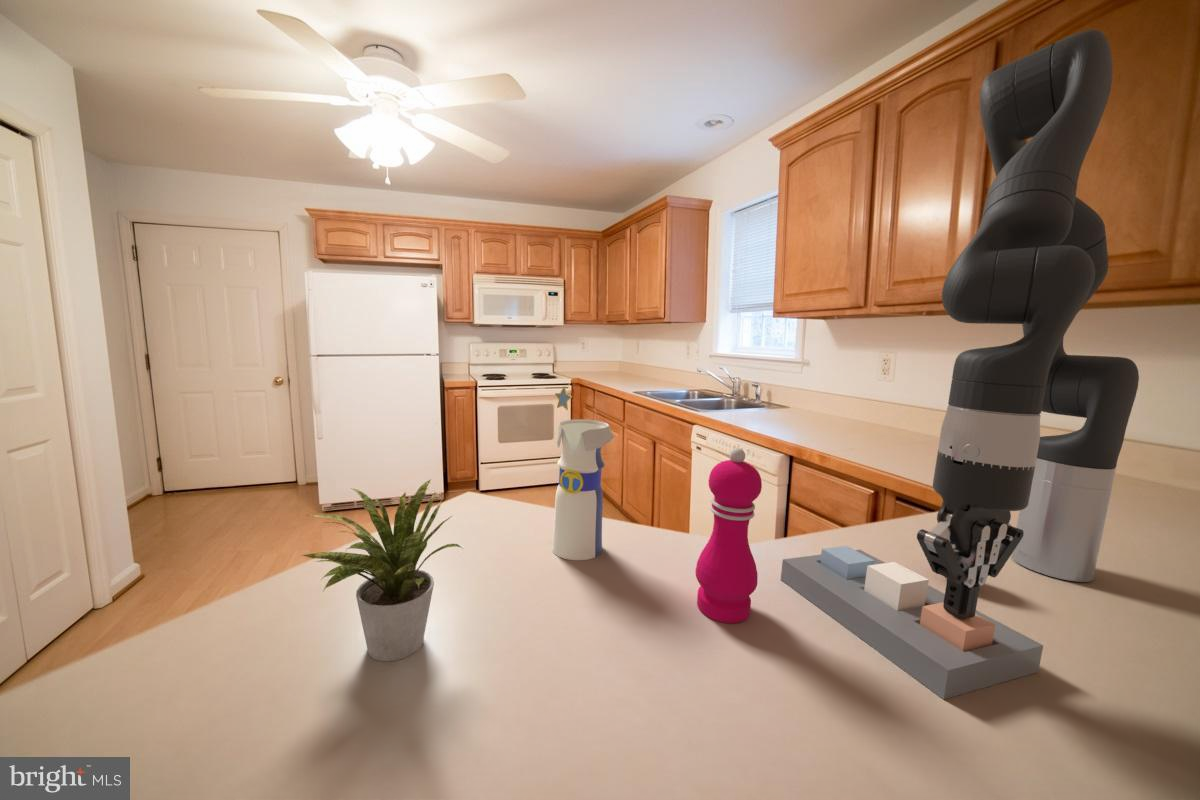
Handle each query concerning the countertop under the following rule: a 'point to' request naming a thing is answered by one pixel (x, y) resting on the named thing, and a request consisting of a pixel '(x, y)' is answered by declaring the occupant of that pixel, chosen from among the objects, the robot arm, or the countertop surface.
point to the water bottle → (579, 487)
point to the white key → (896, 586)
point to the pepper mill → (729, 542)
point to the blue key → (845, 562)
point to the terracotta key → (957, 628)
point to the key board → (912, 632)
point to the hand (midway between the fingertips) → (957, 614)
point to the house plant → (389, 576)
